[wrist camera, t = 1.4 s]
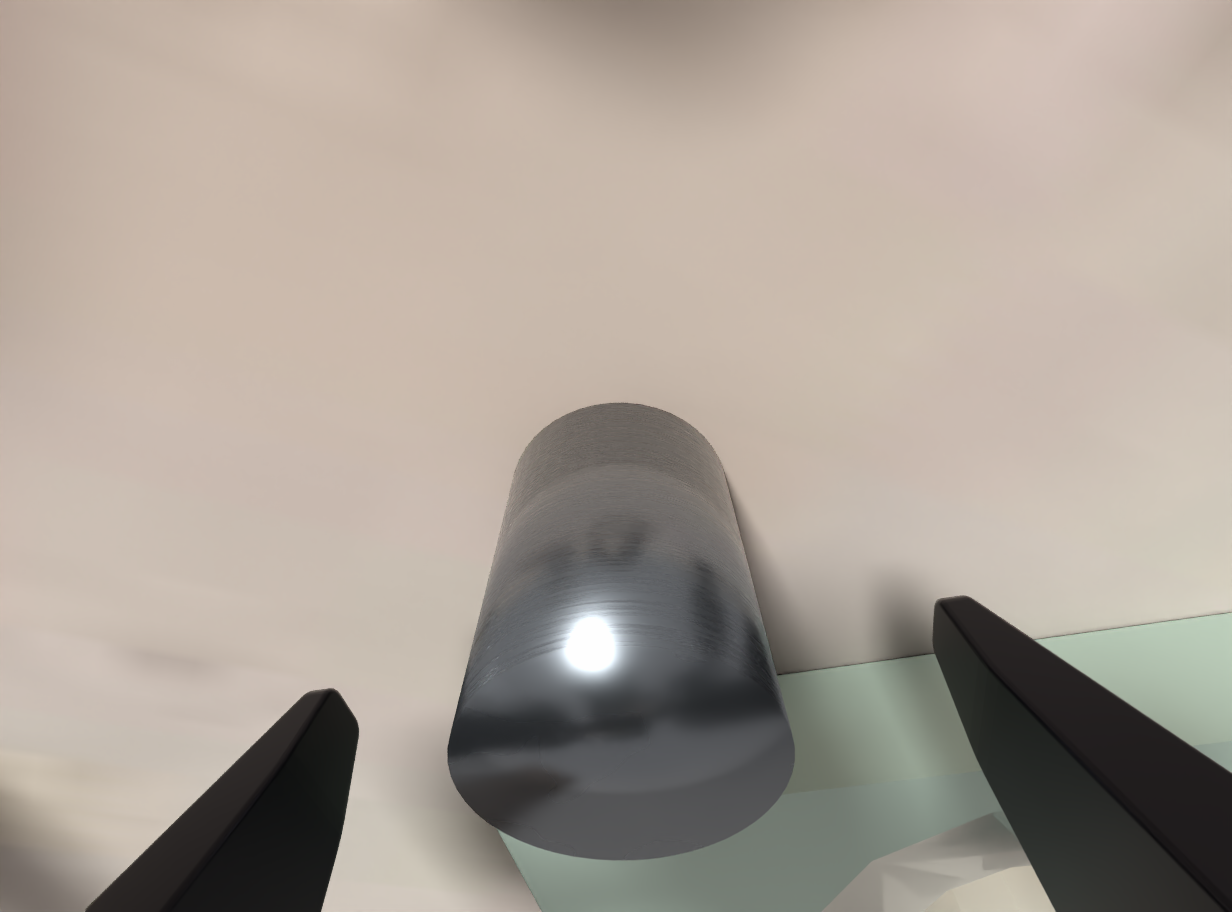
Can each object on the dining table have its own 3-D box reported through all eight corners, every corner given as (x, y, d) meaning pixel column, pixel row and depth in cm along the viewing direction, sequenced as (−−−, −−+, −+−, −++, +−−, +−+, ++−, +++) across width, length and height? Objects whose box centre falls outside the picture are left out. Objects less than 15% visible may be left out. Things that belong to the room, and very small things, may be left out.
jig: (1270, 607, 15) (1405, 720, 12) (1144, 904, 22) (1213, 1015, 20) (514, 711, 17) (496, 828, 14) (623, 954, 24) (623, 1061, 21)
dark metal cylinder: (711, 383, 12) (781, 621, 7) (737, 562, 14) (805, 841, 9) (484, 425, 13) (393, 677, 7) (544, 592, 15) (505, 875, 10)
